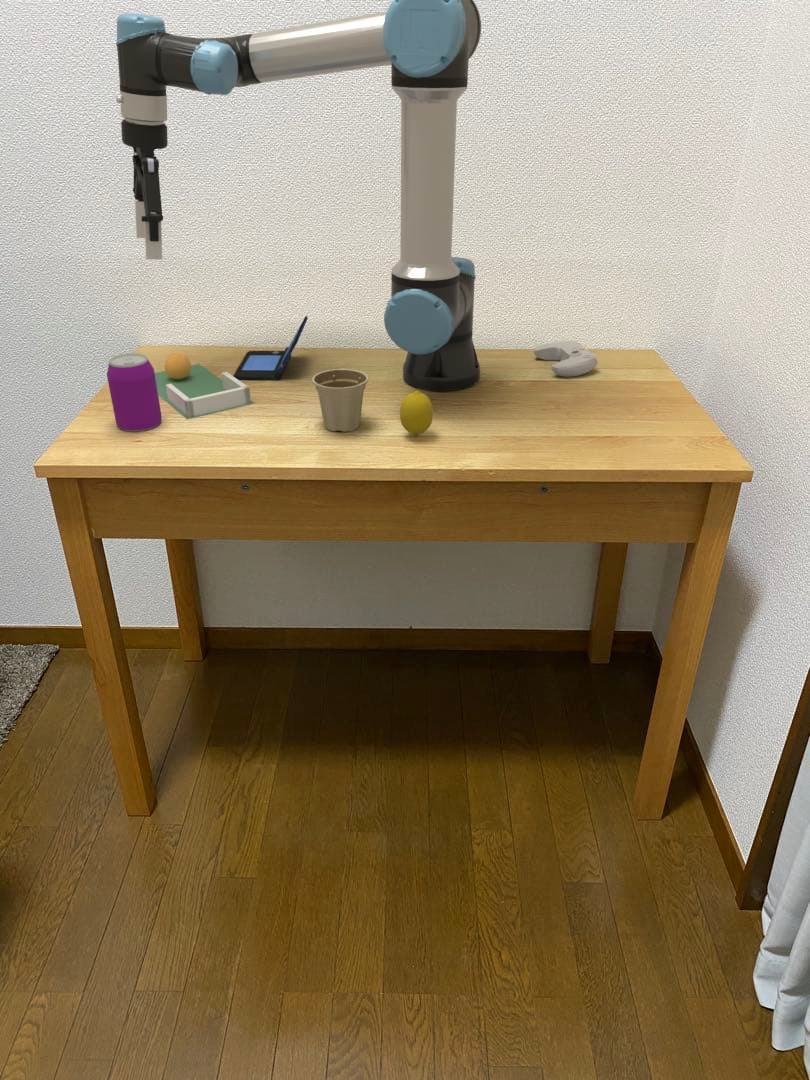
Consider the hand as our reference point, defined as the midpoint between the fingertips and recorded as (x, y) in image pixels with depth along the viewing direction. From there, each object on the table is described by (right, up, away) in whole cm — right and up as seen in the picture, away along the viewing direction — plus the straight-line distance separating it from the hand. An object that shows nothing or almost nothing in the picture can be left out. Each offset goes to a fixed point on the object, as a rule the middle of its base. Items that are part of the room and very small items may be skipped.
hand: (149, 248), depth 156 cm
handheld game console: (+20, -19, +17) cm, 33 cm away
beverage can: (+1, -34, -8) cm, 35 cm away
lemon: (+49, -36, -12) cm, 62 cm away
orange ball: (+3, -20, +9) cm, 22 cm away
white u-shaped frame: (+11, -28, +1) cm, 30 cm away
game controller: (+80, -19, +18) cm, 84 cm away
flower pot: (+36, -34, -8) cm, 50 cm away
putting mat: (+7, -25, +6) cm, 27 cm away
